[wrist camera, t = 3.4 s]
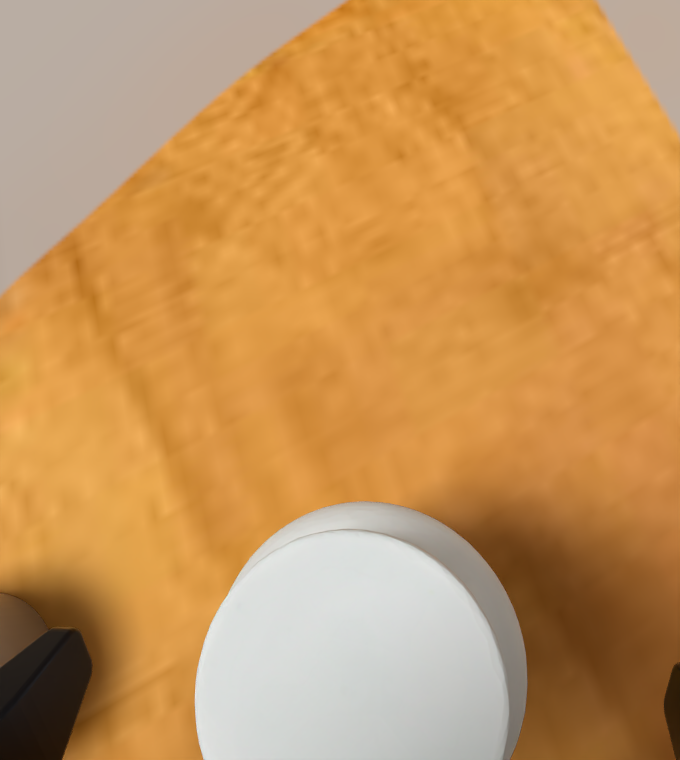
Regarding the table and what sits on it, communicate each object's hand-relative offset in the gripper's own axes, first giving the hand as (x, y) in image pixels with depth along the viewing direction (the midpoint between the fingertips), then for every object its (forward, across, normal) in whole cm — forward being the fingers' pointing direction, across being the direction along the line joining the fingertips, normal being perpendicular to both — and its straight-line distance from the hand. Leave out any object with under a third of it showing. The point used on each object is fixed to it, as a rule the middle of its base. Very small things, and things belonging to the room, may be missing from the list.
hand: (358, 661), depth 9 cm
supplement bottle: (+6, 0, +6) cm, 8 cm away
